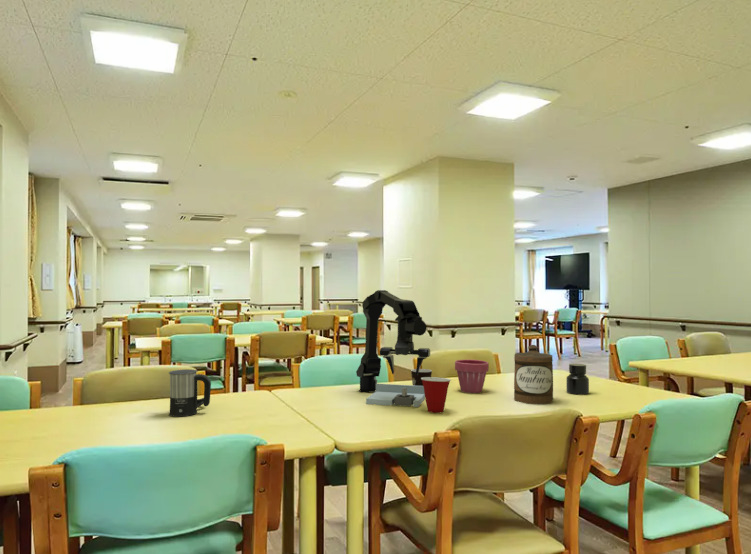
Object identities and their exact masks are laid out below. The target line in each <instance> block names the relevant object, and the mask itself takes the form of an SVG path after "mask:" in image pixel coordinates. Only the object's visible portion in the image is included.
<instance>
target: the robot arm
mask: <svg viewBox="0 0 751 554" xmlns="http://www.w3.org/2000/svg"><path fill="white" fill-rule="evenodd" d="M386 305H387V306H388V307H390V308H392V310H393V313H394V314H395V315H397V317H396V318H395V319H394V321H395V322H397V338H396V343H395V344H394V348H393V346H383V347H381V348H380V349H379V354H378V352H377V350H378V349H377V348H378V330H379V329H378V328H379V319H380V317H381V316H382V314H383V308H385V306H386ZM361 307H362V313H363V316H365V319H366V323H365V324H366V325H365V342H364V343H365V345H364V347H365V349H364V353H363V355H362V357H361V359H360V364H359V366H358V367H357V369H356V371H355V373H356V377H358V378H359V390H358V392H361V393H363V392H364V393H374V392H376V384H378V380H377V379H376V378H377V377H379V376H380V373H381V369H382V368H381V367H382V365H381V363H382V359H381V357H380V356H382V357H383V359H385V360H386V361H387V364H388V366H389V368H390V371H391V374H392V375H394V374H395V362H394V361H395V360H394V355H397V356H401V355H403V356H408V355H412V356H413V355H415V356H416V355H417V358H416V368H415V369H416V375H418V372H419V369H421V366H422V363H423V361H424V360H426V359H427V358H428V357H430V356H431V349H430V348H428V347H426V348H425V347H419V348H418V349H415V344H414V341H413V340H414V339H413V336H423V335H424V334H426V331H427V325H426V322H425V321H424V320H423V317H422V316H420V312H419V311H418V308H417V306H416V304H415V302H414V300H409V299H402V298H399V297H398V296H397V295H394V294H392V293H390V291H388V290H385V289H383V290H381V289H378V290H376V291H375V292H373V293H372V294H370V295H367V296H366V298H365V299H364V300H363V301H362V306H361Z"/></svg>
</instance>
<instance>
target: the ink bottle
mask: <svg viewBox="0 0 751 554" xmlns="http://www.w3.org/2000/svg"><path fill="white" fill-rule="evenodd" d="M568 371H569V372H568V373H569V374H568V375H567V376H566V392H567V394H568V393H569V394H571V395H572V394H573V395H578V394H584V395H588V394H589V393H590V379H589V377H588V376H587V375H586V374H587V365H586V364H583V363H569V364H568Z"/></svg>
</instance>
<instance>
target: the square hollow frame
mask: <svg viewBox="0 0 751 554" xmlns="http://www.w3.org/2000/svg"><path fill="white" fill-rule="evenodd" d="M413 401H414V395H407V397H402V394H397V395H396V396H395V397H394V404H393V405H394V406H397V405H401V406H402V407H413ZM401 406H400V407H401Z"/></svg>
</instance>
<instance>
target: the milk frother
mask: <svg viewBox="0 0 751 554" xmlns="http://www.w3.org/2000/svg"><path fill="white" fill-rule="evenodd" d="M197 372H198V370H197V369H175V370H171V371H169V372H168V374H169V412H168V416H170V417H173V418H174V417H175V418H176V417H177V418H179V417H180V418H183V417H189V416H190V417H191V416H195V414H198V410H197V409H198V408H199V407H201V406H202V405H203V406H204V407H208V406H209V405H210V402H211V389H212V388H211V387H212V382H211V378H210V377H208V376H207V375H205V374H201V373H200V374H198V373H197ZM198 381H200V382H203V384H204V387H203V390H204V392H203V397H202V398H198Z"/></svg>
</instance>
